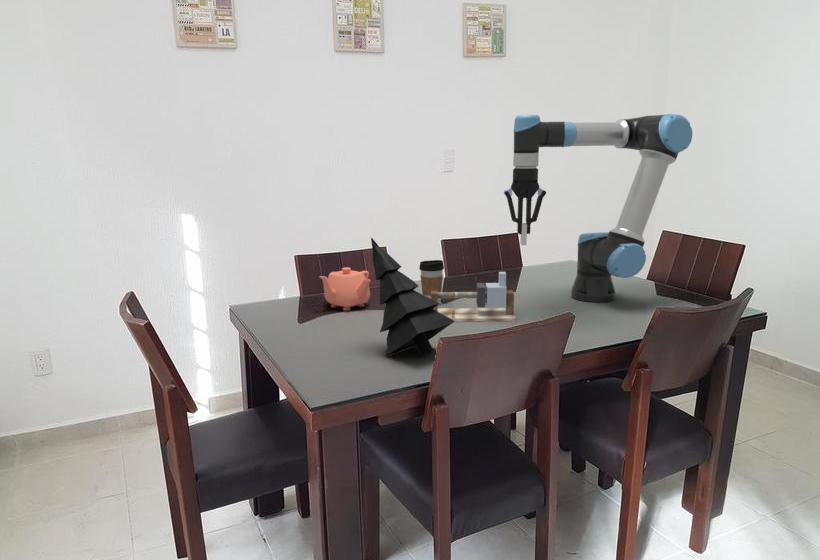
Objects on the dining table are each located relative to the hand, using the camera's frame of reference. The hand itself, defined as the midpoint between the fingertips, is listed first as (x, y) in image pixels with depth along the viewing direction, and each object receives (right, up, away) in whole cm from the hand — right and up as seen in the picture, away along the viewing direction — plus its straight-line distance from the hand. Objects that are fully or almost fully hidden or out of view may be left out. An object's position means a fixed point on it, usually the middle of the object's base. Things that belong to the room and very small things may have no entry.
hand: (523, 244), depth 194 cm
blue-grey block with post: (-8, -19, +5) cm, 21 cm away
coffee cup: (-28, -20, +22) cm, 40 cm away
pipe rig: (-15, -23, +6) cm, 28 cm away
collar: (-13, -19, +5) cm, 23 cm away
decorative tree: (-37, -30, -25) cm, 54 cm away
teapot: (-57, -21, +20) cm, 64 cm away
